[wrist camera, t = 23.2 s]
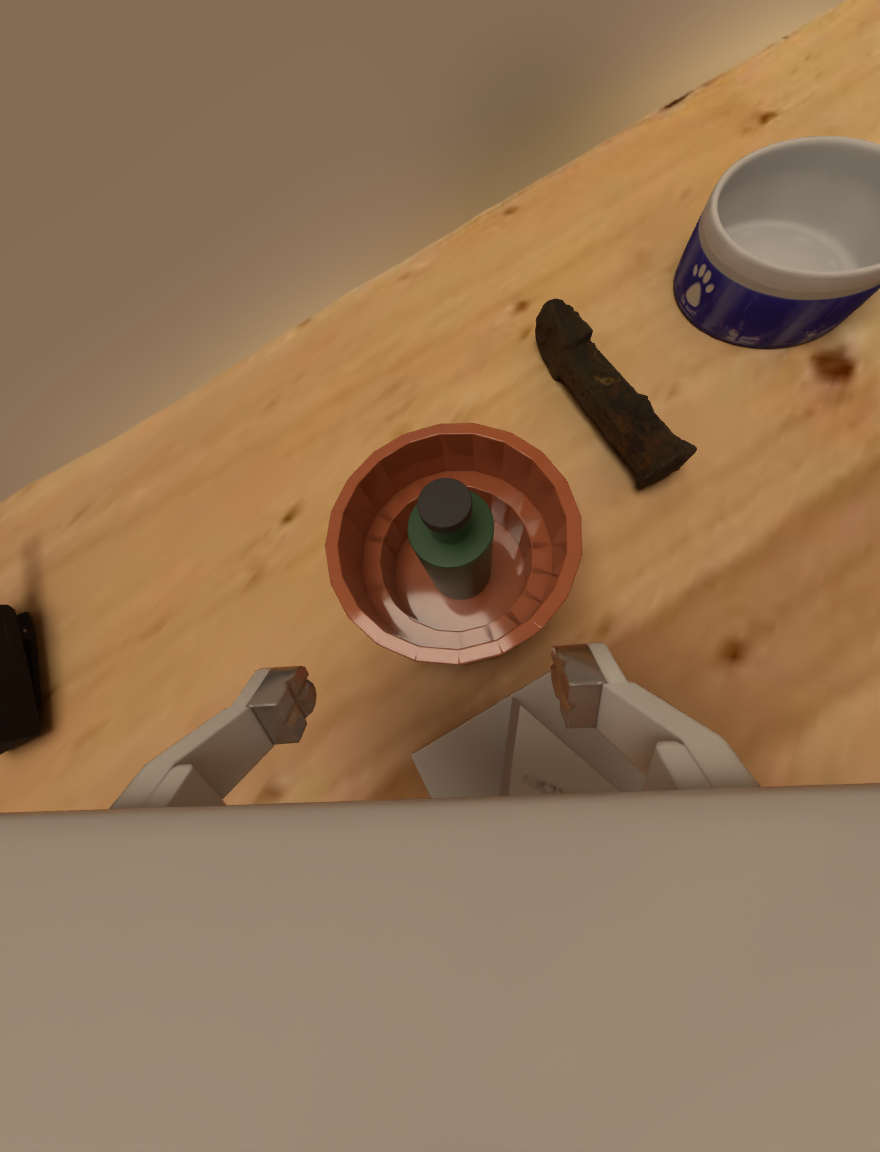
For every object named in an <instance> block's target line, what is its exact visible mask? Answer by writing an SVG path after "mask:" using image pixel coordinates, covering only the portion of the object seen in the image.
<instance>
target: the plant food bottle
mask: <svg viewBox="0 0 880 1152" xmlns="http://www.w3.org/2000/svg"><path fill="white" fill-rule="evenodd" d="M407 532H408V538H409V542H410V544H411V547H412V548H413V550H414V552H415V553H416V555H417V557H418V558H419V560H420V562H421V563H422V565H423V566H424V568H425V570H426V571H427V573H428V575H429V576H430V578H431V580H432V581H433V583H434V585H435V586H436V588H437V589H438V590H439V591H440V592H441V593H442V594H444V595H445V596H447V597H449V598H452V599H458V600H464V599H469V598H472V597H474V596H476V595H478V594H479V593H480V592H482V590H483V589H484V588H485V587H486V586H487V584H488V582H489V579H490V575H491V563H492V550H493V537H494V519H493V515H492V512H491V510H490V508H489V506H488V505H487V503H486V502H485V501H484V500H483V499H482V498H481V497H480V496H479V495H477V494H475V493H474V492H472V491H470V490H469V489H468V488H467V487H466V486H465V485H464V484H463V483H462V482H460V481H459V480H456V479H453V478H439V479H436V480H433V481H431V482H430V483H428V484H427V485H426V486H425V487H424V488H423V489H422V491H421V492H420V494H419V496H418V500H417V505H416V506H415V507H414V509H413V510H412V512H411V515H410V517H409V521H408V528H407Z"/></svg>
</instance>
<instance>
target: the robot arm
mask: <svg viewBox="0 0 880 1152" xmlns="http://www.w3.org/2000/svg"><path fill="white" fill-rule="evenodd" d="M551 656H552V659H553V662H554V664H553V665H552V666H551V679H552V685H553V690H554V693H555V696H556V697H557V698H558V699H559V700H560V712H561V715H562V718H563V721H564V724H565V726H566V728H596V730H598V731H599V732H600V733H601V734H602V735H603V736H604V737H605V738H606V739H607V740H608V741H609V742H610V743H611V744H612V745H613V746H614V747H615V748H616V749H617V750H618V751H619V752H620V753H622V754H623V755H624V756H625V757H626V758H627V759H628V760H629V761H630V762H631V763H632V764H633V765H634V766H635V767H636V768H637V769H638V770H639V771H640V772H641V773H642V774H643V775H644V776H645V777H646V780H645V783H644V787H643V790H642V791H630V792H601V793H571V794H542V795H513V796H484V797H455V798H426V799H397V800H367V801H338V802H308V803H279V804H249V805H226V804H225V802H224V801H223V800H222V799H223V798H224V797H225V796H226V795H227V794H228V793H229V792H230V791H231V790H232V789H233V788H234V787H235V786H236V785H237V784H238V783H239V782H240V781H241V780H242V779H243V778H244V777H245V776H246V774H247V773H248V772H249V771H250V770H251V769H252V768H253V767H254V766H255V765H256V764H257V763H258V762H259V761H260V760H261V759H262V758H263V757H264V756H265V755H266V754H267V753H268V752H269V751H270V750H271V749H272V748H273V747H274V745H275V744H287V743H299V741H300V739H301V737H302V734H303V732H304V730H305V728H306V725H307V722H306V719H305V718H306V717H307V716H308V715H309V714H311V713H312V711H313V709H314V707H315V704H316V689H315V687H314V684H313V683H312V682H310V681H309V680H307V677H308V675H309V674H308V672H307V670H306V668H305V667H303V666H292V667H274V668H260V669H259V670H257V671H255V673H254V674H253V676H252V677H251V679H250V680H249V681H248V683H247V684H246V686H245V687H244V689H243V690H242V691H241V693H240V694H239V696H238V697H237V699H236V700H235V701H234V703H233V704H232V706H231V707H230V708H226V709H224V710H222V711H221V712H220V713H218V714H217V715H215V716H214V717H212V718H211V719H210V720H208V721H207V722H205V723H204V724H202V725H201V726H200V727H198V728H197V729H195V730H194V731H192V732H191V733H190V734H188V735H187V736H185V737H184V738H182V739H181V740H180V741H178V742H177V743H175V744H174V745H172V746H171V747H170V748H168V749H167V750H165V751H164V752H162V753H161V754H160V755H158V756H157V757H155V758H154V759H152V760H151V761H150V762H148V763H147V764H145V765H144V767H143V768H142V769H141V770H140V772H139V773H138V774H137V775H136V776H135V778H134V779H133V780H132V781H131V783H130V784H129V785H128V786H127V787H126V789H125V790H124V791H123V792H122V794H121V795H120V796H119V797H118V799H117V800H116V801H115V802H114V803H113V805H112V806H111V807H110V808H109V809H99V810H70V811H40V812H11V813H0V1152H880V783H864V784H836V785H807V786H778V787H760V786H759V784H758V783H757V782H756V780H755V779H754V778H753V776H752V775H751V774H750V772H749V771H748V770H747V768H746V767H745V766H744V764H743V763H742V762H741V761H740V759H739V758H738V757H737V755H736V754H735V753H734V751H733V750H732V749H731V747H730V746H729V745H728V743H727V742H726V741H725V739H724V738H723V737H721V736H720V735H718V734H717V733H715V732H713V731H712V730H710V729H709V728H707V727H705V726H704V725H702V724H701V723H699V722H697V721H696V720H694V719H692V718H691V717H689V716H688V715H686V714H684V713H683V712H681V711H680V710H678V709H676V708H675V707H673V706H672V705H670V704H668V703H667V702H665V701H664V700H662V699H660V698H659V697H657V696H655V695H654V694H652V693H651V692H649V691H647V690H646V689H644V688H643V687H641V686H639V685H638V684H636V683H635V682H628V681H627V679H626V678H625V676H624V674H623V673H622V671H621V669H620V667H619V666H618V664H617V662H616V661H615V659H614V657H613V656H612V654H611V652H610V651H609V649H608V647H607V646H606V644H605V643H603V642H596V643H586V644H576V645H564V646H553V647H552V654H551Z"/></svg>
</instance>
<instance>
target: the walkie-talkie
mask: <svg viewBox="0 0 880 1152" xmlns="http://www.w3.org/2000/svg"><path fill="white" fill-rule="evenodd" d="M40 702H41V695H40V684H39V673H38V662H37V651H36V641H35V635H34V631H33V627H32V622H31V618H30V615H29V612H23V613H21V614H19V615H16V612H15V609H13V608H12V607H11V606H9V605H0V754H2V753H4V752H6V751H8V750H10V749H12V748H14V747H16V746H18V745H20V744H22V743H24V742H26V741H28V740H30V739H32V738H34V737H36V736H38V735H39V734H40V732H41V727H40V722H39V716H38V711H37V706H36V705H38V704H39V703H40Z"/></svg>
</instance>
